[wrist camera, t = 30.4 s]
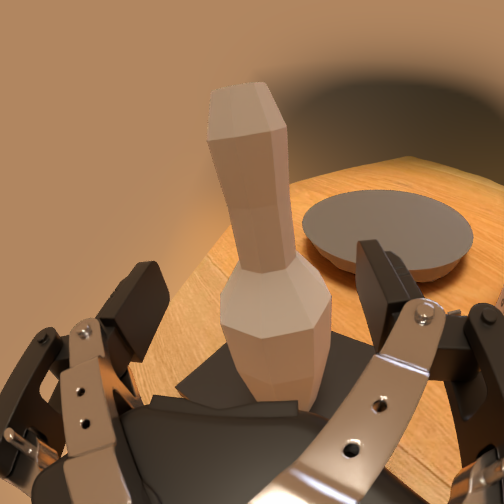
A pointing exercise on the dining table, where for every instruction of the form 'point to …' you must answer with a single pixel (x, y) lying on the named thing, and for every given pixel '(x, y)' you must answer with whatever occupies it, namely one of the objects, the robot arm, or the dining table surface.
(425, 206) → the flat disc
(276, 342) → the low poly bottle
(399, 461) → the dining table surface
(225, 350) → the scale
